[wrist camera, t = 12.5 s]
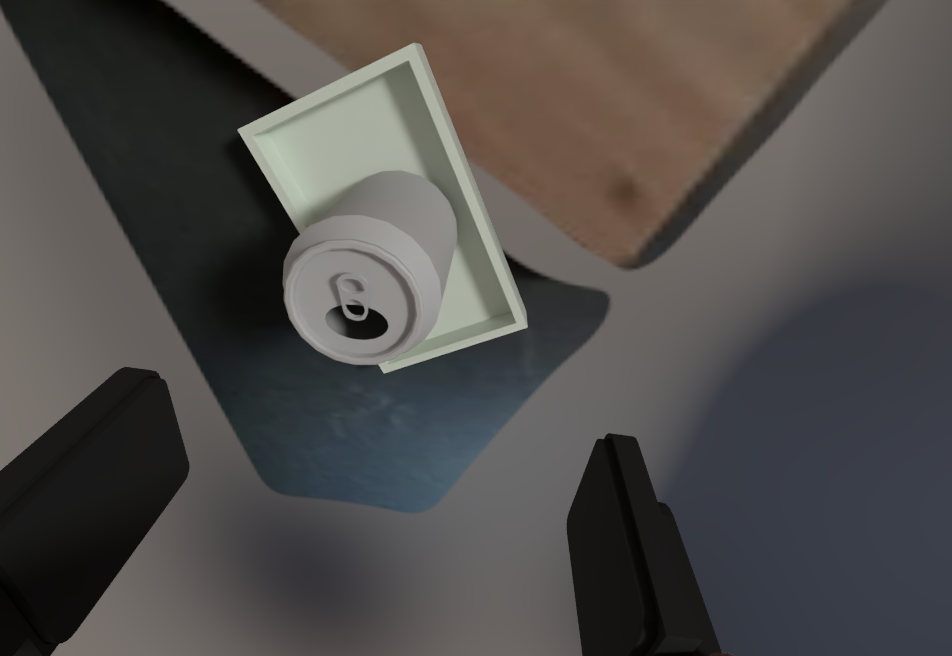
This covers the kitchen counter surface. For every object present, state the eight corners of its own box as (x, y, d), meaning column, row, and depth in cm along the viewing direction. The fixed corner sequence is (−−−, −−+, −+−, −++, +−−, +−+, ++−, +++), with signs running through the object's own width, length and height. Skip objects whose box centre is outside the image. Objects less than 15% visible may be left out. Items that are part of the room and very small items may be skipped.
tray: (257, 124, 29) (237, 129, 26) (421, 44, 26) (413, 42, 24) (390, 355, 37) (383, 373, 34) (525, 310, 34) (527, 327, 32)
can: (347, 271, 33) (275, 370, 22) (343, 160, 29) (255, 216, 18) (453, 283, 33) (432, 387, 22) (463, 174, 29) (443, 238, 19)
